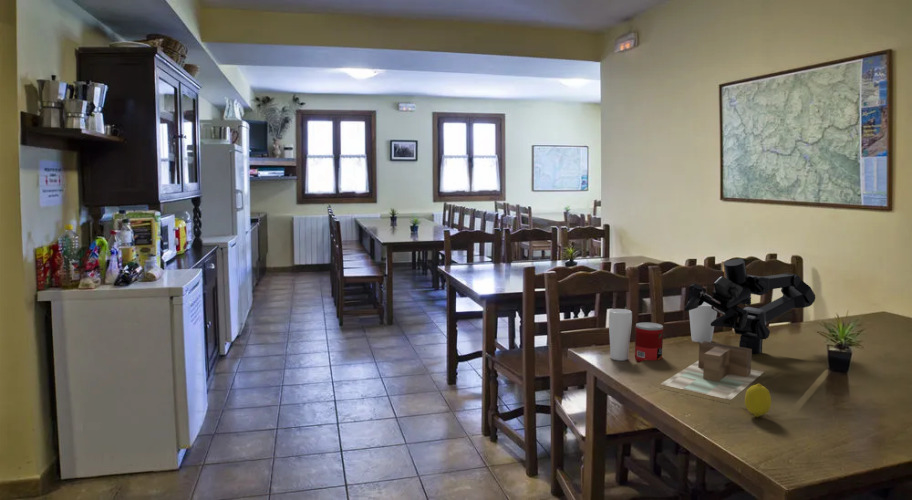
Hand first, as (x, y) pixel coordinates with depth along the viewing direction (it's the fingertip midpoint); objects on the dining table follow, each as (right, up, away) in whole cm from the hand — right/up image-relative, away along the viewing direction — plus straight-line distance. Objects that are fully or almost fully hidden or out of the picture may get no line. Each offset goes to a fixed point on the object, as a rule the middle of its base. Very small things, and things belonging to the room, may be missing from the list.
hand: (697, 316), depth 183 cm
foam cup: (+13, -12, +31) cm, 36 cm away
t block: (+2, -15, -9) cm, 18 cm away
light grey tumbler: (-20, -14, +10) cm, 27 cm away
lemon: (0, -20, -36) cm, 41 cm away
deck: (0, -17, -12) cm, 20 cm away
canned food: (-12, -14, +8) cm, 21 cm away
